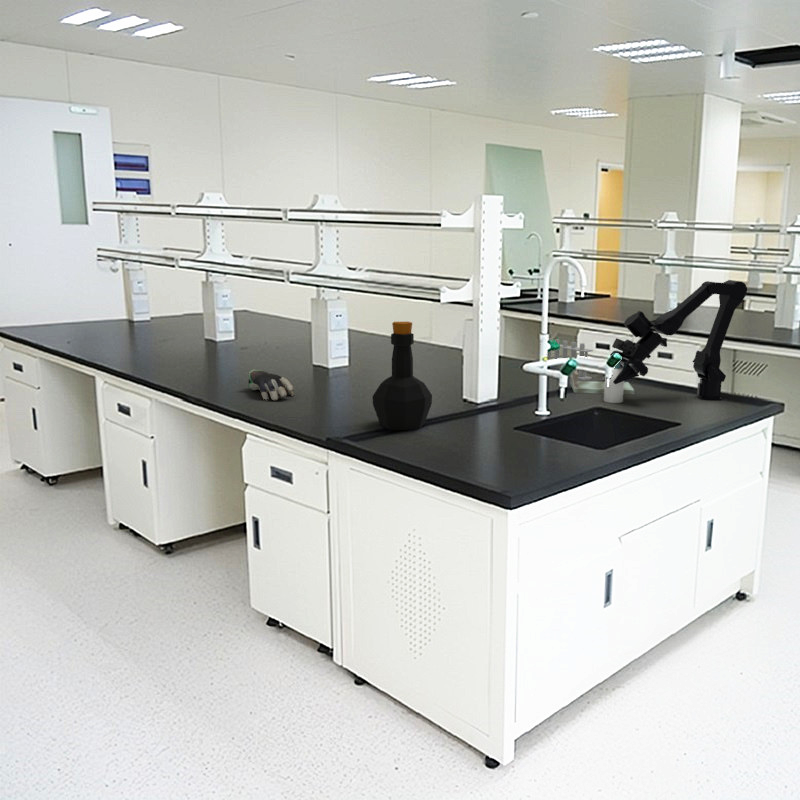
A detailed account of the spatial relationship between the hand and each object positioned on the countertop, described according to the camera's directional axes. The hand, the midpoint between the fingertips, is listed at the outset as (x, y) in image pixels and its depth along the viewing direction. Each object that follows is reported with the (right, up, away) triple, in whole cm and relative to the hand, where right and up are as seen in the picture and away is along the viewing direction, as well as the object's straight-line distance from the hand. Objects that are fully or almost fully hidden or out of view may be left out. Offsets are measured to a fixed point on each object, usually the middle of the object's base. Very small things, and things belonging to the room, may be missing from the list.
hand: (610, 381), depth 267 cm
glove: (-113, -5, +12) cm, 113 cm away
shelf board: (+2, -2, +20) cm, 20 cm away
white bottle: (+1, -6, +2) cm, 7 cm away
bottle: (-68, -14, -31) cm, 76 cm away
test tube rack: (-5, +3, +49) cm, 49 cm away
